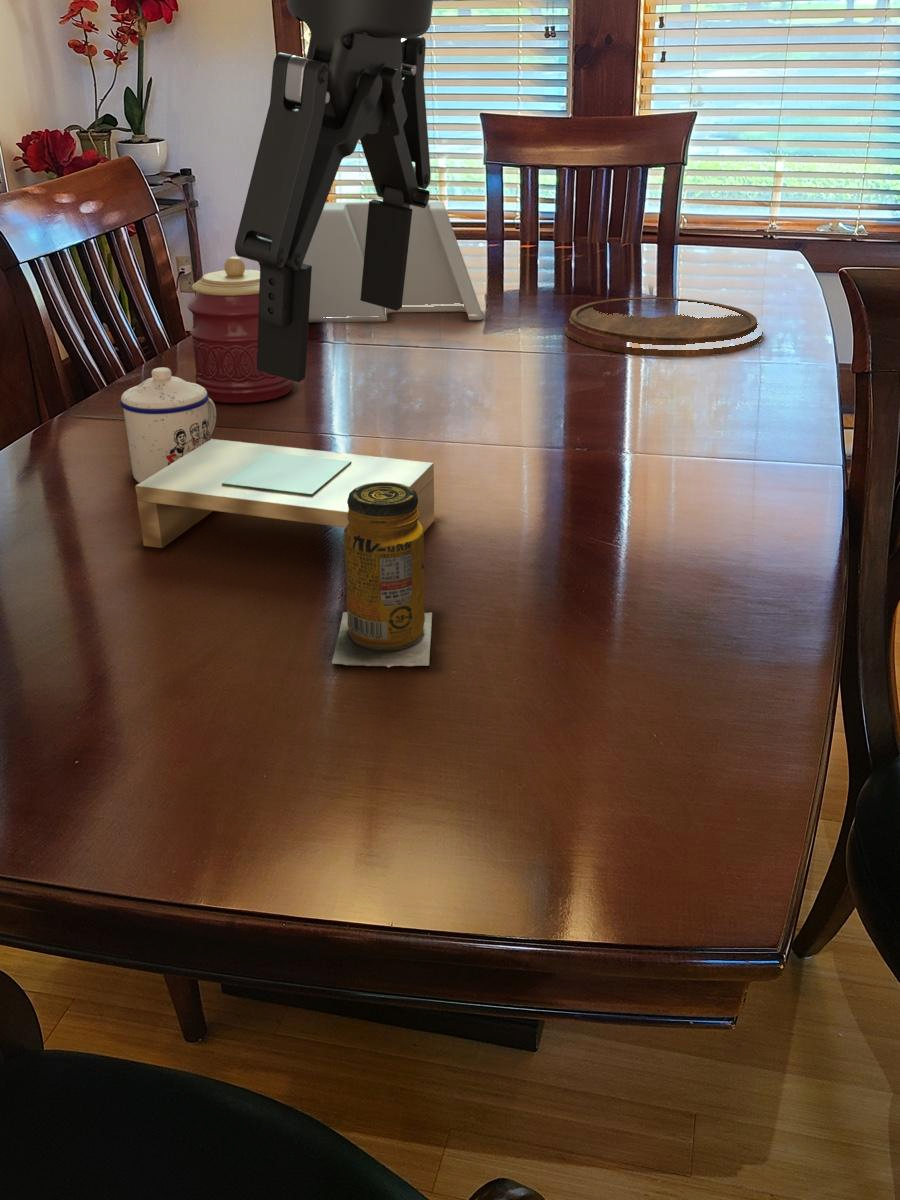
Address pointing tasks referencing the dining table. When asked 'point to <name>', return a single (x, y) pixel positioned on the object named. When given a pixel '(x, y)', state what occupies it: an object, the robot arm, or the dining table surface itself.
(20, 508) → the dining table surface
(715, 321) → the cutting board
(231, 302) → the kitchen canister
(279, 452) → the oak shelf
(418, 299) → the bracket
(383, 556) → the condiment
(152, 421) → the teacup with lid
